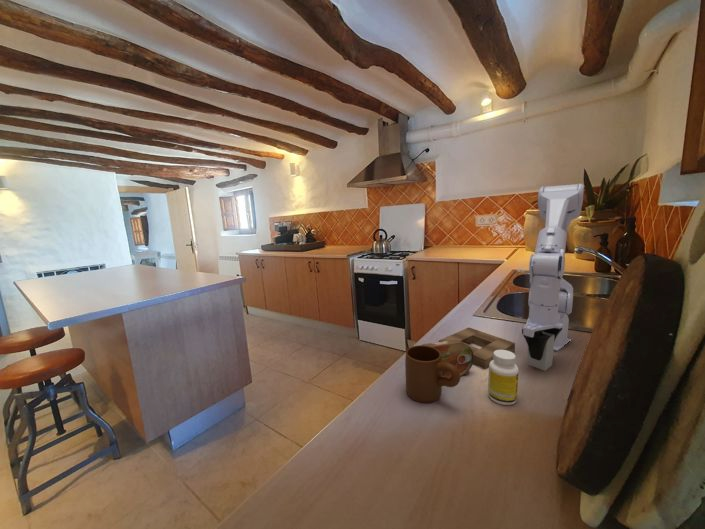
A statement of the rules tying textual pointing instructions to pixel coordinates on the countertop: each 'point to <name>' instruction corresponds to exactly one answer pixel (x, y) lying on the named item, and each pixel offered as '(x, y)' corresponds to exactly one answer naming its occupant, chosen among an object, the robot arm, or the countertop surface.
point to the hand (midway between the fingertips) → (540, 355)
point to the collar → (484, 340)
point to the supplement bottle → (503, 378)
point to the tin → (454, 355)
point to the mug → (427, 373)
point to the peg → (547, 355)
